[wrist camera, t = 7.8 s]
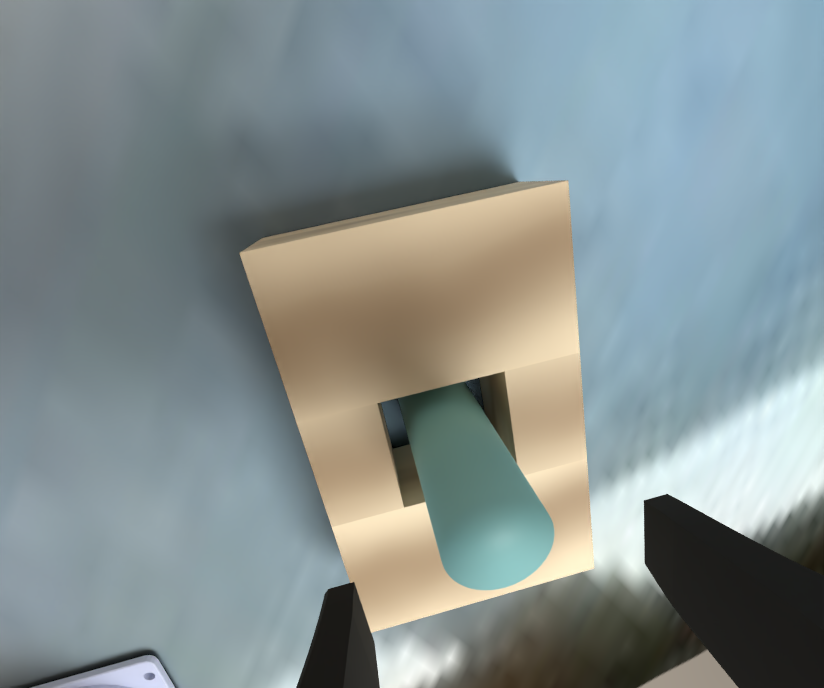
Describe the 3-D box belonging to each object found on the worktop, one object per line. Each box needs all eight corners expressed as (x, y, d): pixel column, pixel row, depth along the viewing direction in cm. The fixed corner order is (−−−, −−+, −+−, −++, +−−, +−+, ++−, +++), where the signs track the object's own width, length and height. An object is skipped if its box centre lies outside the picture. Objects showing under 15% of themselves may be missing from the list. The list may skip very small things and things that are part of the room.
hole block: (552, 506, 23) (594, 568, 19) (363, 558, 22) (367, 633, 18) (518, 182, 17) (568, 180, 13) (262, 238, 16) (239, 253, 13)
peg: (468, 412, 20) (558, 572, 12) (404, 429, 20) (451, 603, 12) (458, 353, 19) (549, 482, 11) (390, 369, 19) (430, 514, 11)
